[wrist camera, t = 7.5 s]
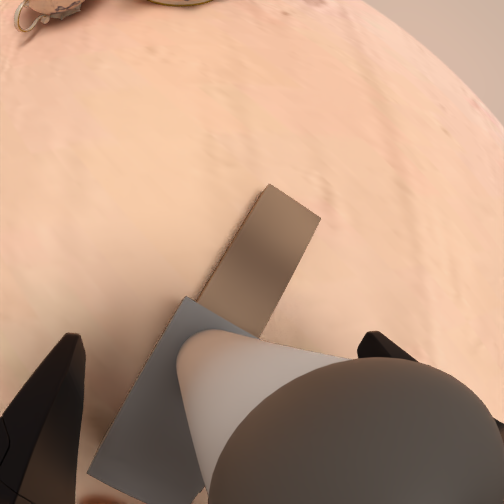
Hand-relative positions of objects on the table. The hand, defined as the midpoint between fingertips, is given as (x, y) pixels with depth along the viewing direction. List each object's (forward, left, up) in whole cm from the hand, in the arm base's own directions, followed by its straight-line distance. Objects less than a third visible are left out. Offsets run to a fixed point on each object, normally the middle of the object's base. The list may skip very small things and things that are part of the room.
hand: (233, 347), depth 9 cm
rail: (+4, -1, -8) cm, 9 cm away
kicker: (-4, -1, -8) cm, 9 cm away
